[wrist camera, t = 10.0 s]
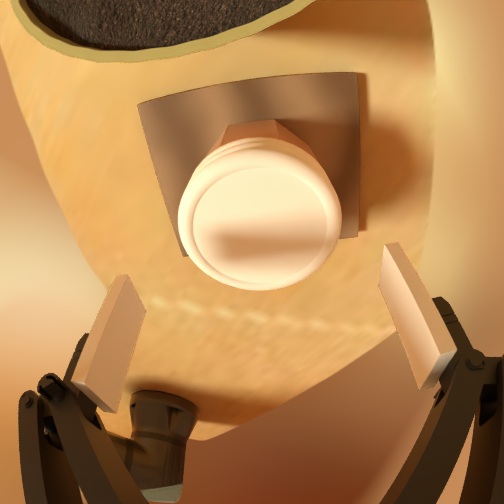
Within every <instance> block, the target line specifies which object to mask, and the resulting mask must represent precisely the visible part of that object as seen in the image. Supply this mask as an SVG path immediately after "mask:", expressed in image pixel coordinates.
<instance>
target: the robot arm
mask: <svg viewBox="0 0 504 504" xmlns="http://www.w3.org/2000/svg"><path fill="white" fill-rule="evenodd" d="M378 286H379V288H380V290H381V293H382V295H383V297H384V299H385V302H386V304H387V307H388V309H389V311H390V314H391V316H392V319H393V321H394V324H395V326H396V329H397V331H398V334H399V336H400V339H401V341H402V344H403V347H404V350H405V352H406V355H407V358H408V361H409V363H410V366H411V369H412V372H413V374H414V378H415V381H416V384H417V387H418V390H419V391H421V390H423V389H427V388H430V387H434V386H435V384H436V383H437V381H438V380H439V382H440V384H441V388H440V389H439V390H438V392H437V393H436V395H435V396H434V398H435V402H434V404H433V406H432V409H431V411H430V413H429V416H428V418H427V420H426V422H425V424H424V427H423V429H422V431H421V433H420V435H419V437H418V439H417V441H416V443H415V445H414V447H413V449H412V451H411V452H410V454H409V456H408V458H407V460H406V461H405V463H404V465H403V467H402V469H401V470H400V472H399V474H398V476H397V477H396V479H395V480H394V482H393V484H392V485H391V487H390V488H389V490H388V491H387V493H386V495H385V496H384V498H383V499H382V501H381V502H380V503H379V504H436V502H437V501H438V499H439V497H440V495H441V493H442V491H443V489H444V487H445V485H446V483H447V482H448V479H449V477H450V475H451V473H452V471H453V468H454V467H455V464H456V462H457V460H458V457H459V455H460V453H461V450H462V448H463V445H464V443H465V440H466V438H467V435H468V432H469V429H470V427H471V423H472V421H473V418H474V415H475V421H474V429H473V437H472V444H471V451H470V456H469V462H468V467H467V472H466V477H465V481H464V486H463V490H462V493H461V497H460V501H459V504H504V355H503V356H502V357H485V356H484V354H483V353H482V352H480V351H478V350H475V349H473V347H472V346H471V344H470V342H469V340H468V338H467V336H466V334H465V332H464V330H463V328H462V326H461V324H460V322H458V319H457V317H456V315H455V314H454V311H453V309H452V308H451V306H450V304H449V303H448V302H447V301H446V300H445V299H443V298H442V297H436V298H432V299H431V297H430V295H429V293H428V292H427V290H426V288H425V286H424V284H423V282H422V281H421V279H420V277H419V276H418V274H417V272H416V271H415V269H414V267H413V265H412V264H411V262H410V261H409V259H408V257H407V256H406V254H405V252H404V251H403V249H402V248H401V246H400V245H399V243H390V244H384V252H383V259H382V266H381V273H380V279H379V285H378ZM145 313H146V309H145V307H144V305H143V304H142V302H141V300H140V298H139V296H138V294H137V292H136V290H135V288H134V286H133V284H132V282H131V280H130V278H129V276H128V275H120V276H116V277H115V279H114V281H113V283H112V285H111V287H110V289H109V291H108V293H107V295H106V298H105V300H104V302H103V304H102V307H101V309H100V311H99V313H98V315H97V317H96V320H95V322H94V324H93V326H92V329H91V331H90V333H87V334H86V333H85V334H84V335H83V337H82V338H81V339H80V340H79V342H78V344H77V346H76V349H75V352H74V353H73V356H72V359H71V361H70V363H69V366H68V368H67V371H66V374H65V376H64V379H63V381H62V380H61V379H60V378H59V377H58V376H57V375H55V374H54V373H48V374H46V375H44V376H43V377H42V378H41V380H40V381H39V383H38V386H37V391H38V393H40V394H41V395H40V396H38V395H37V394H36V393H35V392H34V391H31V390H29V391H26V392H24V393H23V395H22V396H21V398H20V400H19V412H18V414H19V417H18V421H19V422H18V423H19V451H20V464H21V474H22V482H23V489H24V496H25V501H26V504H149V503H148V502H147V501H156V502H167V503H174V502H177V501H178V500H179V498H180V496H181V490H182V486H183V474H184V463H185V453H186V444H187V440H188V439H189V437H190V435H191V433H192V431H193V429H194V427H195V425H196V423H197V420H198V412H199V411H198V409H197V407H196V406H195V405H194V404H192V403H191V402H189V401H187V400H185V399H183V398H180V397H177V396H174V395H171V394H167V393H162V392H156V391H139V392H136V393H134V394H132V396H131V400H130V415H131V423H132V434H131V439H128V438H125V437H122V436H120V435H117V434H114V433H112V432H109V431H107V430H106V429H105V427H104V425H103V423H102V421H101V419H100V416H99V415H98V413H97V412H96V408H97V406H98V407H99V408H100V409H101V410H102V411H104V412H110V413H117V411H118V407H119V403H120V399H121V395H122V391H123V387H124V384H125V380H126V376H127V373H128V369H129V366H130V362H131V359H132V355H133V352H134V348H135V345H136V342H137V338H138V335H139V332H140V329H141V326H142V322H143V319H144V316H145ZM44 429H45V432H44Z"/></svg>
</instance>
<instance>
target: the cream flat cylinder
mask: <svg viewBox="0 0 504 504" xmlns="http://www.w3.org/2000/svg"><path fill="white" fill-rule="evenodd" d="M341 224H342V213H341V206H340V202H339V199H338V196H337V194H336V192H335V190H334V188H333V186H332V184H331V182H330V180H329V178H328V176H327V175H326V173H325V171H324V170H323V168H322V167H321V166H320V164H319V163H318V162H317V161H316V160H315V159H314V158H313V157H312V156H311V155H309V154H308V153H307V152H305V151H304V150H303V149H301V148H299V147H297V146H295V145H293V144H291V143H288V142H285V141H282V140H278V139H273V138H264V137H255V138H245V139H240V140H236V141H233V142H230V143H227V144H225V145H223V146H221V147H219V148H218V149H216V150H215V151H213V152H212V153H210V154H209V155H208V156H207V157H206V158H205V159H204V160H203V161H202V162H201V163H200V164H199V165H198V167H197V168H196V170H195V171H194V173H193V175H192V177H191V179H190V181H189V183H188V185H187V187H186V189H185V191H184V193H183V196H182V198H181V202H180V205H179V211H178V228H179V234H180V238H181V241H182V244H183V246H184V248H185V250H186V252H187V254H188V255H189V257H190V258H191V259H192V261H193V262H194V263H195V264H196V265H197V266H198V267H199V268H200V269H201V270H203V271H204V272H205V273H206V274H208V275H209V276H211V277H212V278H214V279H216V280H218V281H220V282H222V283H225V284H227V285H230V286H233V287H237V288H241V289H248V290H272V289H279V288H283V287H287V286H290V285H293V284H295V283H298V282H300V281H302V280H304V279H305V278H307V277H309V276H310V275H312V274H313V273H314V272H316V271H317V270H318V269H319V268H320V267H321V266H322V265H323V264H324V263H325V262H326V261H327V259H328V258H329V257H330V255H331V254H332V252H333V251H334V249H335V247H336V244H337V242H338V239H339V236H340V231H341Z"/></svg>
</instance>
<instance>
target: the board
mask: <svg viewBox="0 0 504 504" xmlns="http://www.w3.org/2000/svg"><path fill="white" fill-rule="evenodd" d="M137 107H138V111H139V115H140V118H141V122H142V126H143V130H144V133H145V137H146V141H147V144H148V148H149V151H150V155H151V158H152V162H153V165H154V169H155V172H156V175H157V179H158V182H159V185H160V188H161V192H162V195H163V198H164V201H165V204H166V207H167V210H168V214H169V217H170V220H171V223H172V226H173V229H174V232H175V235H176V238H177V240H178V243H179V246H180V249H181V252H182V255H183V257H186V256H189V255H188V254H187V252H186V250H185V248H184V246H183V244H182V241H181V238H180V234H179V228H178V211H179V205H180V202H181V198H182V196H183V193H184V191H185V189H186V187H187V185H188V183H189V181H190V179H191V177H192V175H193V173H194V171H195V170H196V168H197V167H198V165H199V164H200V163H201V162H202V160H203V159H204V158H205V156H206V155H207V154H208V152H209V151H210V149H211V148H212V147H213V145H214V144H215V142H216V141H217V140H218V138H219V137H220V136H221V134H222V133H223V132H224V130H225V129H226V128H227V126H228V125H234V124H241V123H248V122H255V121H263V120H271V119H275V120H276V121H277V122H279V123H280V124H281V125H283V126H284V127H285V128H287V129H288V130H289V131H291V132H292V133H293V134H294V135H296V136H297V137H298V138H300V139H301V140H302V141H303V142H305V143H306V144H307V145H309V146H310V148H311V150H312V152H313V153H314V155H315V157H316V159H317V161H318V163H319V164H320V166H321V167H322V168H323V170H324V171H325V173H326V175H327V176H328V178H329V180H330V182H331V184H332V186H333V188H334V190H335V192H336V194H337V196H338V199H339V202H340V206H341V213H342V224H341V231H340V236H339V239H345V238H354V237H358V227H359V206H360V119H359V98H358V83H357V73H354V72H332V73H309V74H294V75H283V76H273V77H264V78H256V79H249V80H242V81H235V82H229V83H223V84H218V85H213V86H207V87H202V88H198V89H193V90H188V91H184V92H180V93H176V94H172V95H168V96H164V97H160V98H156V99H152V100H149V101H145V102H142V103H140V104H138V105H137Z"/></svg>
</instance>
